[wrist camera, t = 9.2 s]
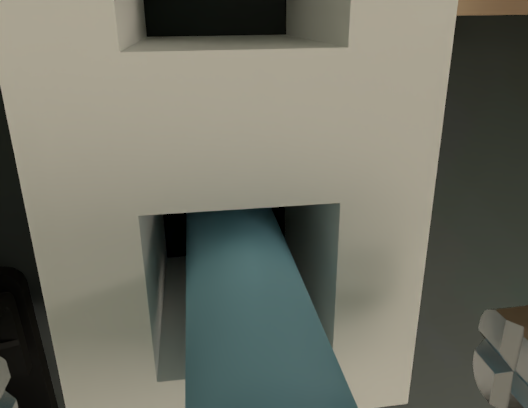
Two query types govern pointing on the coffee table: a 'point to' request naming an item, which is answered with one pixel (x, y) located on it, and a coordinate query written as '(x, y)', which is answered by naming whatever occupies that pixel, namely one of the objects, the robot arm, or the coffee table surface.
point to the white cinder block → (225, 175)
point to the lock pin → (252, 320)
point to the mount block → (492, 7)
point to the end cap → (23, 344)
